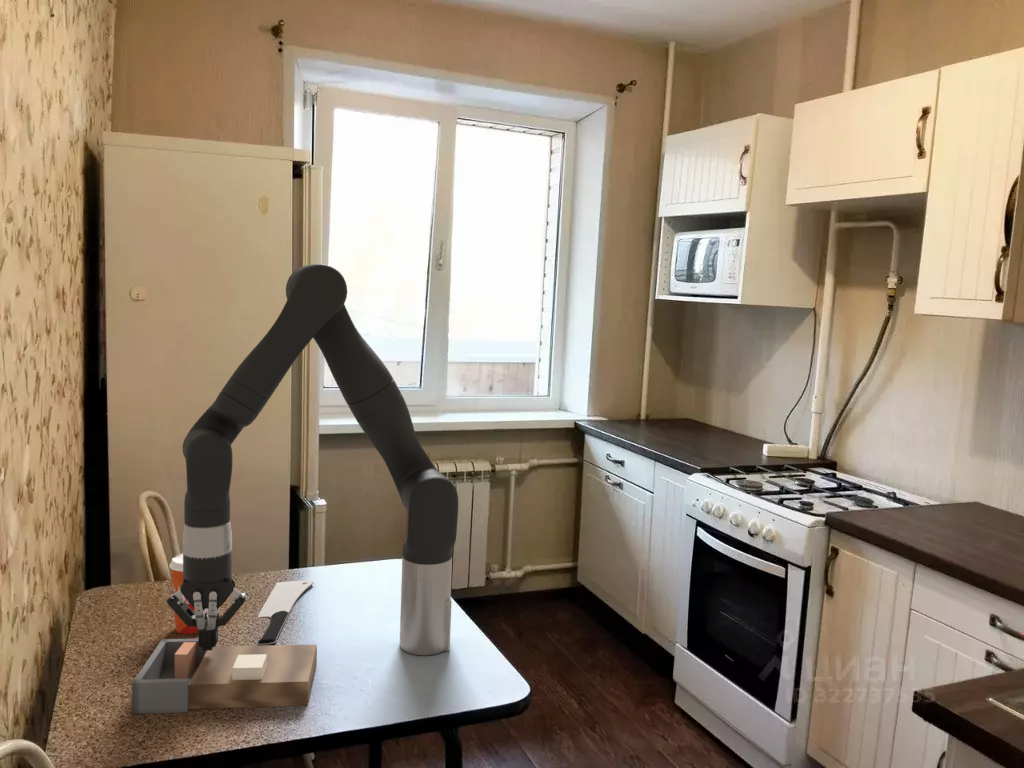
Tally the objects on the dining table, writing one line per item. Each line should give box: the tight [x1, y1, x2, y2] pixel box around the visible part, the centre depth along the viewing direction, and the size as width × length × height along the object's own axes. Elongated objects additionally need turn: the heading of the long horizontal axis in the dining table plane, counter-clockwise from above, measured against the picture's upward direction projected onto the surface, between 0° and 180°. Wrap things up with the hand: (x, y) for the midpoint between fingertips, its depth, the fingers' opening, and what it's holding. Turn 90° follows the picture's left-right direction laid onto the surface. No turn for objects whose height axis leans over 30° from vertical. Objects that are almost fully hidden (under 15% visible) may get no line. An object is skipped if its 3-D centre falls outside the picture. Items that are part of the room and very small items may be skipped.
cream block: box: [232, 654, 267, 680], centre depth 126 cm, size 4×4×2 cm
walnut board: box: [189, 644, 318, 710], centre depth 129 cm, size 18×13×4 cm
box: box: [131, 638, 207, 715], centre depth 127 cm, size 8×15×5 cm, turn 8°
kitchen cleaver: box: [257, 579, 314, 646], centre depth 159 cm, size 31×2×10 cm
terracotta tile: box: [175, 642, 196, 679], centre depth 131 cm, size 4×4×2 cm
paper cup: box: [169, 552, 198, 635], centre depth 149 cm, size 8×8×14 cm
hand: (208, 648), depth 131 cm, fingers closed
